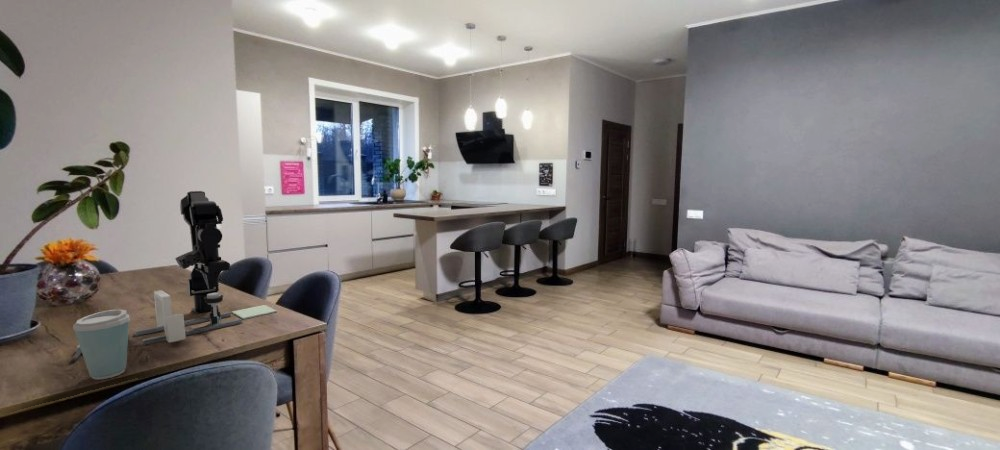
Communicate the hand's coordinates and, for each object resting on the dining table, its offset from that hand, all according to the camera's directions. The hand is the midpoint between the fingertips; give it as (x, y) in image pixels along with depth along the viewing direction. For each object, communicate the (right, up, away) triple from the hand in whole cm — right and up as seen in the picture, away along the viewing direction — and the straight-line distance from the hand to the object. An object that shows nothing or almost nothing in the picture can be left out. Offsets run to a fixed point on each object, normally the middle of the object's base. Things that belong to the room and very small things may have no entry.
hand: (210, 289), depth 148 cm
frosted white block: (-6, -11, -11) cm, 17 cm away
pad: (+7, -10, +14) cm, 18 cm away
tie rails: (-5, -12, -3) cm, 13 cm away
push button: (0, -12, +2) cm, 12 cm away
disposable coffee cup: (-3, -16, -36) cm, 39 cm away
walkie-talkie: (-20, -15, -18) cm, 31 cm away
